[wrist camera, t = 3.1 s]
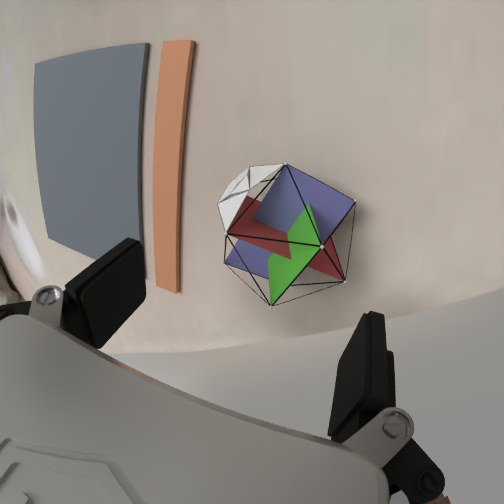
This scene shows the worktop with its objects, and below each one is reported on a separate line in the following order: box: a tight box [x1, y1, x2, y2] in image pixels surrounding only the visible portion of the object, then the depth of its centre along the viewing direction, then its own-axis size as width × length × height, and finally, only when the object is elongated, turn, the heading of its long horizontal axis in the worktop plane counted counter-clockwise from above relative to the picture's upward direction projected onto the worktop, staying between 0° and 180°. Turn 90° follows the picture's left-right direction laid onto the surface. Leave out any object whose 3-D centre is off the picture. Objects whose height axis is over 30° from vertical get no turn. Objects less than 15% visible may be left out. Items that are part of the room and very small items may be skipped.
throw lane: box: [34, 40, 195, 294], centre depth 21 cm, size 18×19×1 cm
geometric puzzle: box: [217, 162, 357, 308], centre depth 15 cm, size 7×7×8 cm
